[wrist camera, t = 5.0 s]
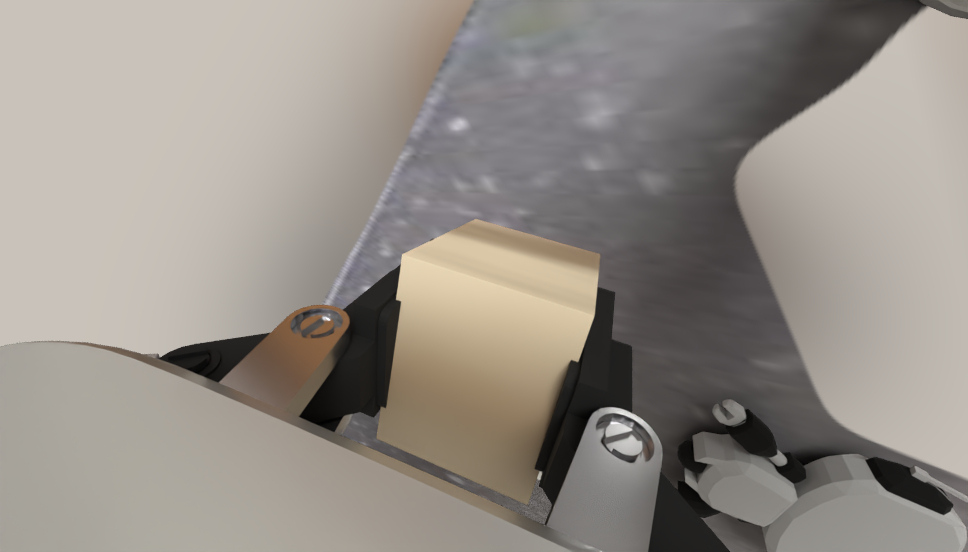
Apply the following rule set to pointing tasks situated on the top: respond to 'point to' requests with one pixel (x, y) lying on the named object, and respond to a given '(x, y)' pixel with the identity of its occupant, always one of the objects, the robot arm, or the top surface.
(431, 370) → the beech brick
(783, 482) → the robot toy
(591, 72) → the top surface
